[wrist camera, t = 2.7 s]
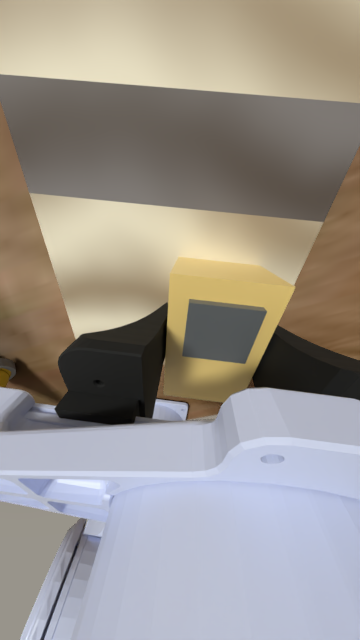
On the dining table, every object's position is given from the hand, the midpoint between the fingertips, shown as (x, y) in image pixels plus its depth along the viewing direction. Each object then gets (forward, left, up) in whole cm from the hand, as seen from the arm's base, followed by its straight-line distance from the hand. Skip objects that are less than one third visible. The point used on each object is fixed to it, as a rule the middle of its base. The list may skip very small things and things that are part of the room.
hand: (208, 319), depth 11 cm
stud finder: (0, 0, 0) cm, 0 cm away
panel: (+4, +3, -2) cm, 6 cm away
